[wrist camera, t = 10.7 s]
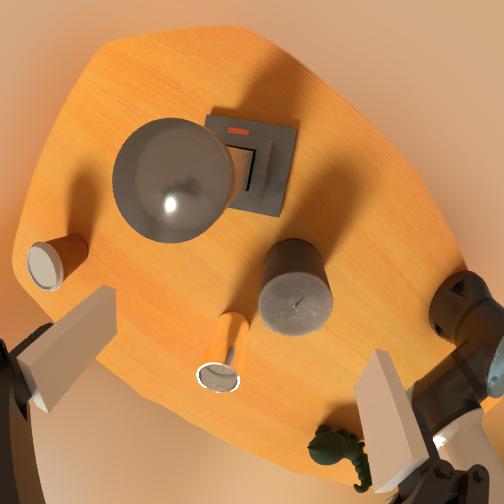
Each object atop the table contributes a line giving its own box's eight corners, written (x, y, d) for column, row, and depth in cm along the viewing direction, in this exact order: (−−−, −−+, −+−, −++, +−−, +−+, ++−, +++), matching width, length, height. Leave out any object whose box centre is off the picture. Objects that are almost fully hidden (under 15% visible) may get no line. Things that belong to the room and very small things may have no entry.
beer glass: (219, 304, 52) (199, 355, 38) (256, 315, 52) (247, 369, 38) (211, 333, 54) (191, 386, 40) (245, 343, 54) (235, 399, 40)
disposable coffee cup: (81, 219, 49) (42, 235, 38) (101, 261, 52) (66, 286, 40) (55, 236, 51) (18, 254, 40) (74, 275, 54) (40, 299, 42)
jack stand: (296, 130, 41) (302, 120, 30) (279, 215, 46) (278, 235, 34) (208, 115, 41) (185, 102, 30) (194, 199, 46) (168, 213, 35)
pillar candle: (288, 226, 46) (290, 259, 32) (333, 261, 47) (351, 305, 33) (252, 270, 49) (240, 316, 35) (296, 301, 50) (299, 354, 36)
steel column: (265, 146, 35) (240, 125, 12) (256, 194, 37) (218, 254, 14) (217, 138, 35) (120, 115, 12) (208, 185, 37) (109, 231, 15)
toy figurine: (373, 434, 64) (318, 411, 59) (388, 486, 47) (329, 478, 41) (348, 448, 67) (290, 428, 61) (358, 499, 49) (295, 491, 44)
